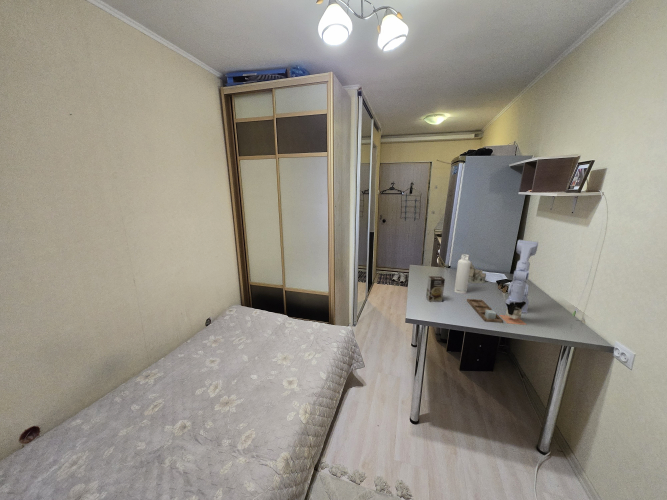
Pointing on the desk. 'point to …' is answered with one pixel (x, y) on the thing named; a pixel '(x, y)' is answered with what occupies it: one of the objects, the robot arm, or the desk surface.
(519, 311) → the letter cube
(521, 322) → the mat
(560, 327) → the desk surface
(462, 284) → the bottle
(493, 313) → the blank block
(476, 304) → the organizer
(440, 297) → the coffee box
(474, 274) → the ceramic cottage
